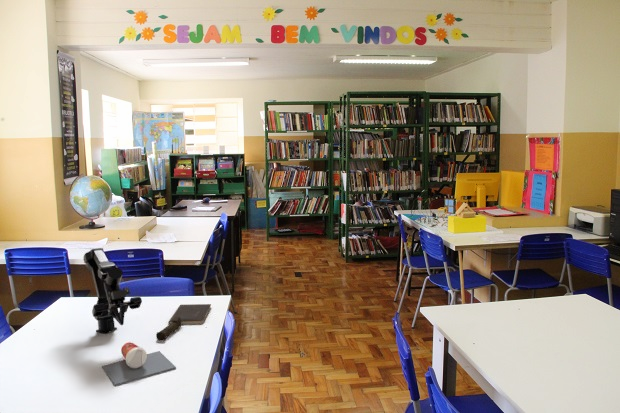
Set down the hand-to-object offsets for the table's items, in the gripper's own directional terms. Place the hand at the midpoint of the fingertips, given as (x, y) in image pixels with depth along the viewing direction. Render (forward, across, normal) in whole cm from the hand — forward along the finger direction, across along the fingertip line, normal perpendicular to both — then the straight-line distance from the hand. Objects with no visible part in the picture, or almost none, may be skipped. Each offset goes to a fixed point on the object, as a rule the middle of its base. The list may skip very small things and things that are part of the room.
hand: (122, 324), depth 201 cm
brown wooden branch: (+3, +22, +14) cm, 26 cm away
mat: (+21, 0, -6) cm, 22 cm away
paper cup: (+11, 0, 0) cm, 11 cm away
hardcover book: (-7, +38, +24) cm, 46 cm away
